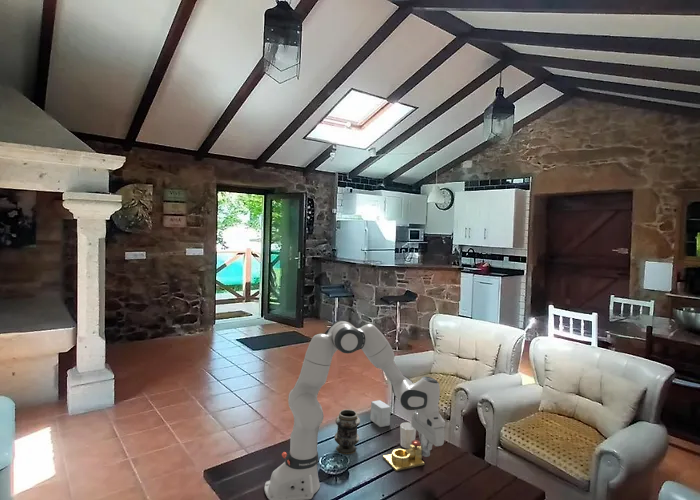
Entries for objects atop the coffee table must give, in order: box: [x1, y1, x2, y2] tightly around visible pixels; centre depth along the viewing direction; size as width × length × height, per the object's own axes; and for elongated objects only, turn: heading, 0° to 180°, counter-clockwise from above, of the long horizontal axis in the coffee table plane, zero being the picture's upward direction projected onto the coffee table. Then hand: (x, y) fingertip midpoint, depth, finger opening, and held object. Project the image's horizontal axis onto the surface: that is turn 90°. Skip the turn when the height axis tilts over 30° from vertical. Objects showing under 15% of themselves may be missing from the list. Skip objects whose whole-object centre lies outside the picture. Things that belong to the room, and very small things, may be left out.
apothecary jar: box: [333, 409, 361, 455], centre depth 212 cm, size 12×12×18 cm
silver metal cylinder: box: [420, 432, 431, 458], centre depth 191 cm, size 4×4×10 cm
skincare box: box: [369, 399, 391, 428], centre depth 242 cm, size 10×6×10 cm, turn 30°
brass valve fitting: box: [382, 439, 425, 472], centre depth 204 cm, size 18×12×8 cm
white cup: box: [399, 421, 417, 449], centre depth 218 cm, size 8×8×10 cm
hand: (425, 446), depth 191 cm, fingers closed on silver metal cylinder, 4 cm apart
